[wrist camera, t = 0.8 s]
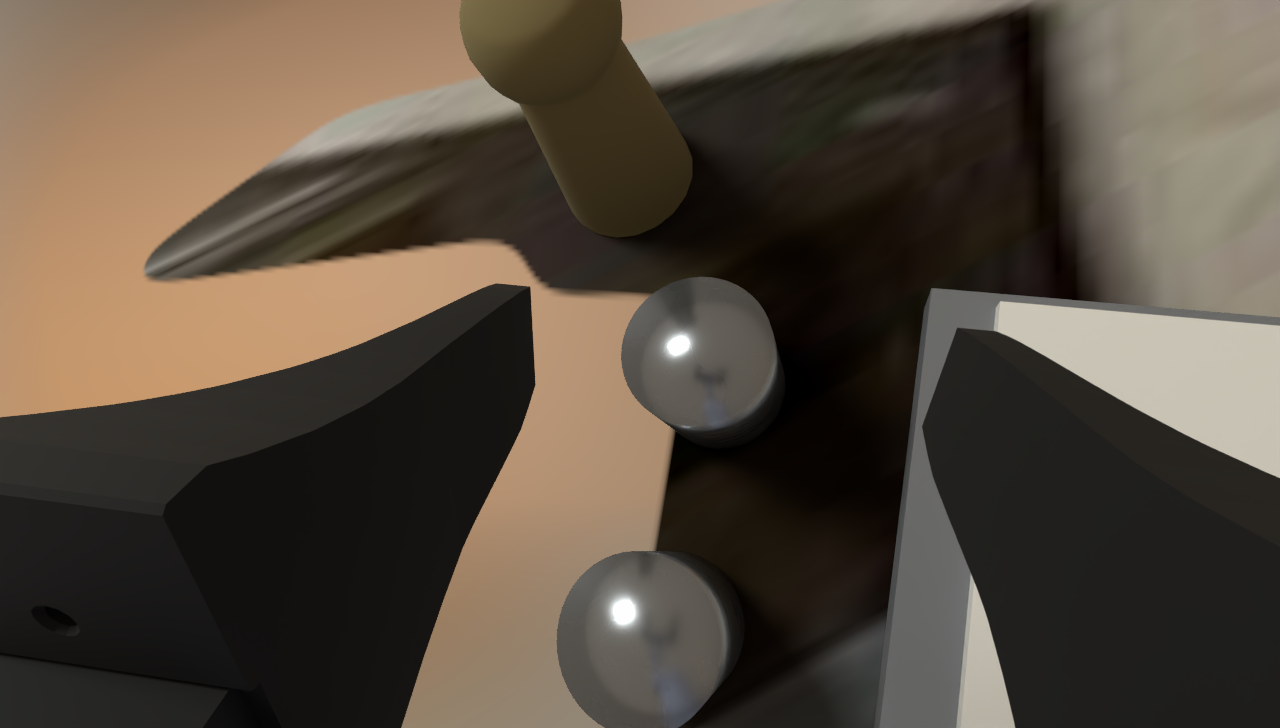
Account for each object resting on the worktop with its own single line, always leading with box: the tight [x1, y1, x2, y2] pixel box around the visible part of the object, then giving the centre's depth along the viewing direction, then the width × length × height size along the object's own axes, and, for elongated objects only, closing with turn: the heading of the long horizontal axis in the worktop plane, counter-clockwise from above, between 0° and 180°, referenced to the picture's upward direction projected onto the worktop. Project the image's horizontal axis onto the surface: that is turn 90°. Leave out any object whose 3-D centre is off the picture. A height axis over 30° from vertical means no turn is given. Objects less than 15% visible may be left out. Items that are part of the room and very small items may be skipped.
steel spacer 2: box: [557, 551, 745, 728], centre depth 21 cm, size 5×5×5 cm
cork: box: [460, 0, 692, 238], centre depth 24 cm, size 6×6×11 cm
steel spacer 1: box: [621, 277, 786, 449], centre depth 23 cm, size 5×5×5 cm
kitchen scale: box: [874, 288, 1280, 728], centre depth 16 cm, size 18×16×6 cm
